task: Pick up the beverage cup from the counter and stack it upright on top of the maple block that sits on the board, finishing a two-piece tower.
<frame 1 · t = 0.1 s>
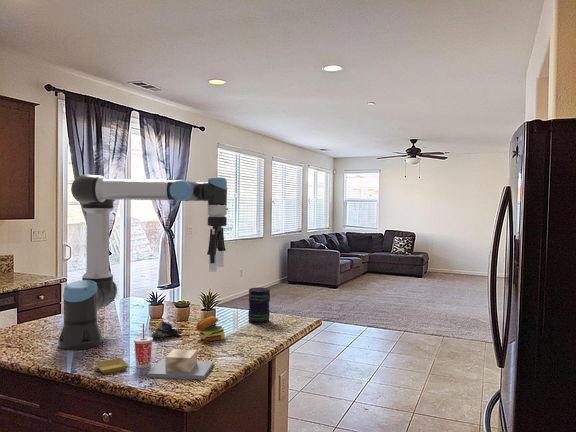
hand: (216, 269, 187), 28 cm above the counter, fingers open, 13 cm apart
dark grey crumpled piece: (165, 336, 191), on the counter
beverage cup: (143, 366, 156), on the counter
block: (181, 367, 151), point 1 cm above the counter, touching board
storage jar: (258, 322, 216), on the counter
cheeseburger: (210, 339, 188), on the counter
board: (181, 370, 151), on the counter
yellow square slab: (111, 370, 152), on the counter
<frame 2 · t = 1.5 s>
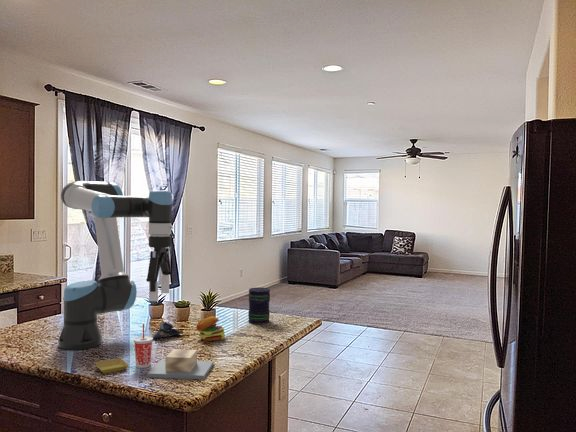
hand: (159, 297, 161), 22 cm above the counter, fingers open, 13 cm apart
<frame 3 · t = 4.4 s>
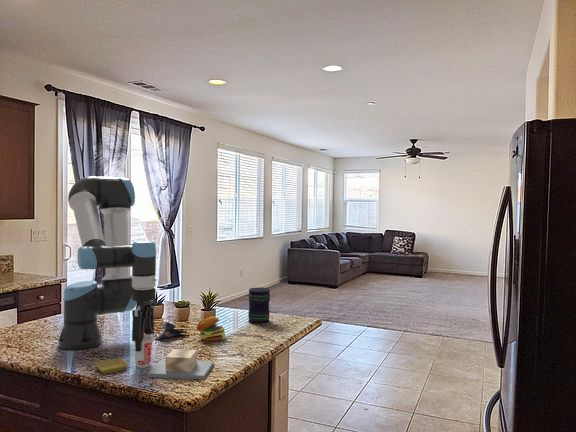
hand: (143, 356, 156), 3 cm above the counter, fingers closed on beverage cup, 6 cm apart
dark grey crumpled piece: (170, 337, 190), on the counter
beverage cup: (143, 366, 156), on the counter, touching gripper
everything else where it was.
when the fingers open (10 cm above the counter, at t = 9.2 s): beverage cup stays where it is, resting on block.
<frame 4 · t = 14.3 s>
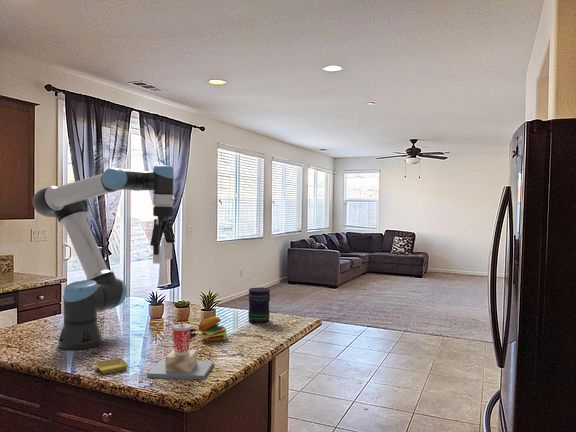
hand: (162, 261, 180), 32 cm above the counter, fingers open, 13 cm apart
dark grey crumpled piece: (181, 336, 191), on the counter
beverage cup: (181, 353, 151), point 6 cm above the counter, touching block
block: (181, 367, 151), point 1 cm above the counter, touching beverage cup, board
everything else where it was.
at the end: beverage cup 0.1 cm from the block (horizontally); beverage cup point 5.5 cm above the counter; beverage cup tilted 0° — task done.
